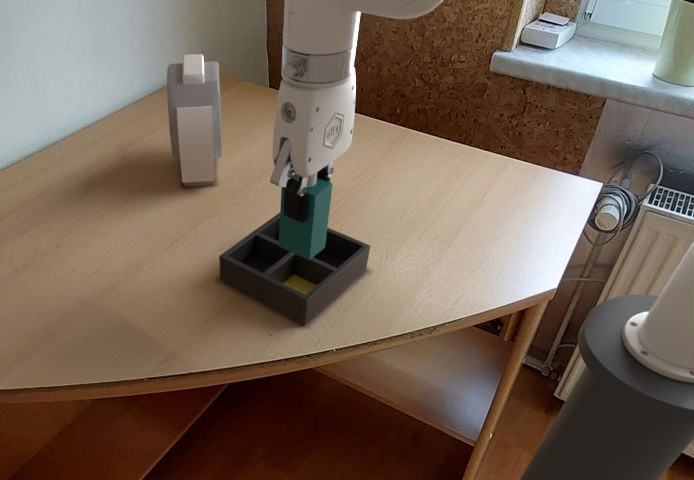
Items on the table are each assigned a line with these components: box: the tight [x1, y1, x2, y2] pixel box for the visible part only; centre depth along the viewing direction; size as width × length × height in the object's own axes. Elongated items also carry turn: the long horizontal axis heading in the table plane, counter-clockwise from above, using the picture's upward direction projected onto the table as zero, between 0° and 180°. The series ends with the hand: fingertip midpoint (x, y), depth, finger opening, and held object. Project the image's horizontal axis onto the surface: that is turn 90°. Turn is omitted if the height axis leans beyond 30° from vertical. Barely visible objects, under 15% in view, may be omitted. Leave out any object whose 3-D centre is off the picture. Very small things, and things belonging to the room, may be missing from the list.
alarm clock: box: [166, 53, 223, 187], centre depth 108 cm, size 18×8×20 cm, turn 0°
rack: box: [218, 212, 371, 326], centre depth 90 cm, size 15×15×5 cm
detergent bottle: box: [279, 172, 333, 260], centre depth 78 cm, size 5×4×11 cm
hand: (305, 209), depth 78 cm, fingers closed on detergent bottle, 3 cm apart
